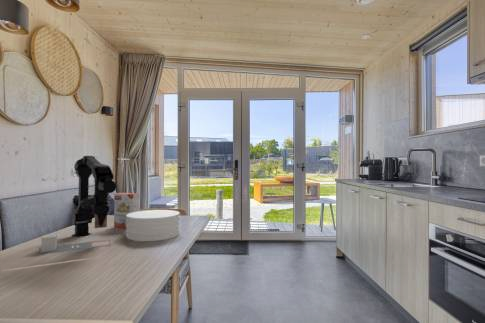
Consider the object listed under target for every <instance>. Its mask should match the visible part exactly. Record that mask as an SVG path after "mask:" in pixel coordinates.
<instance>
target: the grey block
mask: <svg viewBox="0 0 485 323" xmlns="http://www.w3.org/2000/svg"><path fill="white" fill-rule="evenodd" d="M40 241H41V244H40V246H41V252H47V251H55V250H56V248H57V246H58V244H57V243H58V242H57V241H58V235H57V234H55V233H54V234H43V235H42V237H41V240H40Z"/></svg>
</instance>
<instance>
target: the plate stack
mask: <svg viewBox="0 0 485 323" xmlns="http://www.w3.org/2000/svg"><path fill="white" fill-rule="evenodd" d="M180 215H181V213H180V211H178V210H173V209H149V210H148V209H147V210H139V211H138V212H132V213H129V214H127V215H126V218H127V220H126V223H127V224H126V228H125V238H126V239H128V240H130V241H136V242H152V241H153V242H155V241H162V240H163V241H164V240H168V239H172V238H175V237H178V236H179V235H180V233H181V232H180V228H181V227H180V224H181V222H180V220H181V218H180Z"/></svg>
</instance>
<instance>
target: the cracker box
mask: <svg viewBox="0 0 485 323" xmlns="http://www.w3.org/2000/svg"><path fill="white" fill-rule="evenodd" d="M113 194H114V201H113V202H114V203H113V208H114V209H113V213H114V214H113V216H114V217H113V227H114V228H120V229H127V228H126V224H127V223H126V220H127V218H126V215H127V214H129V213H132V212H138V211H140V193H135V192H134V193H132V192H131V193H130V192H115V193H113Z"/></svg>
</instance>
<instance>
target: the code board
mask: <svg viewBox="0 0 485 323" xmlns="http://www.w3.org/2000/svg"><path fill="white" fill-rule="evenodd" d="M110 242H111V241H110V239H104V240H94V241H87V242H76V243H68V244H61V245H60V244H59V245H58V244H57V248H56V250H55V251H47V252H41V247H39V248H38V250H37V251H36V253H35V256H38V255H40V256H41V255H46V254H54V253H55V254H56V253H64V252H71V251H79V250H80V251H81V250H87V249H88V250H89V249H97V248H103V247H104V248H105V247H111V243H110Z"/></svg>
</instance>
